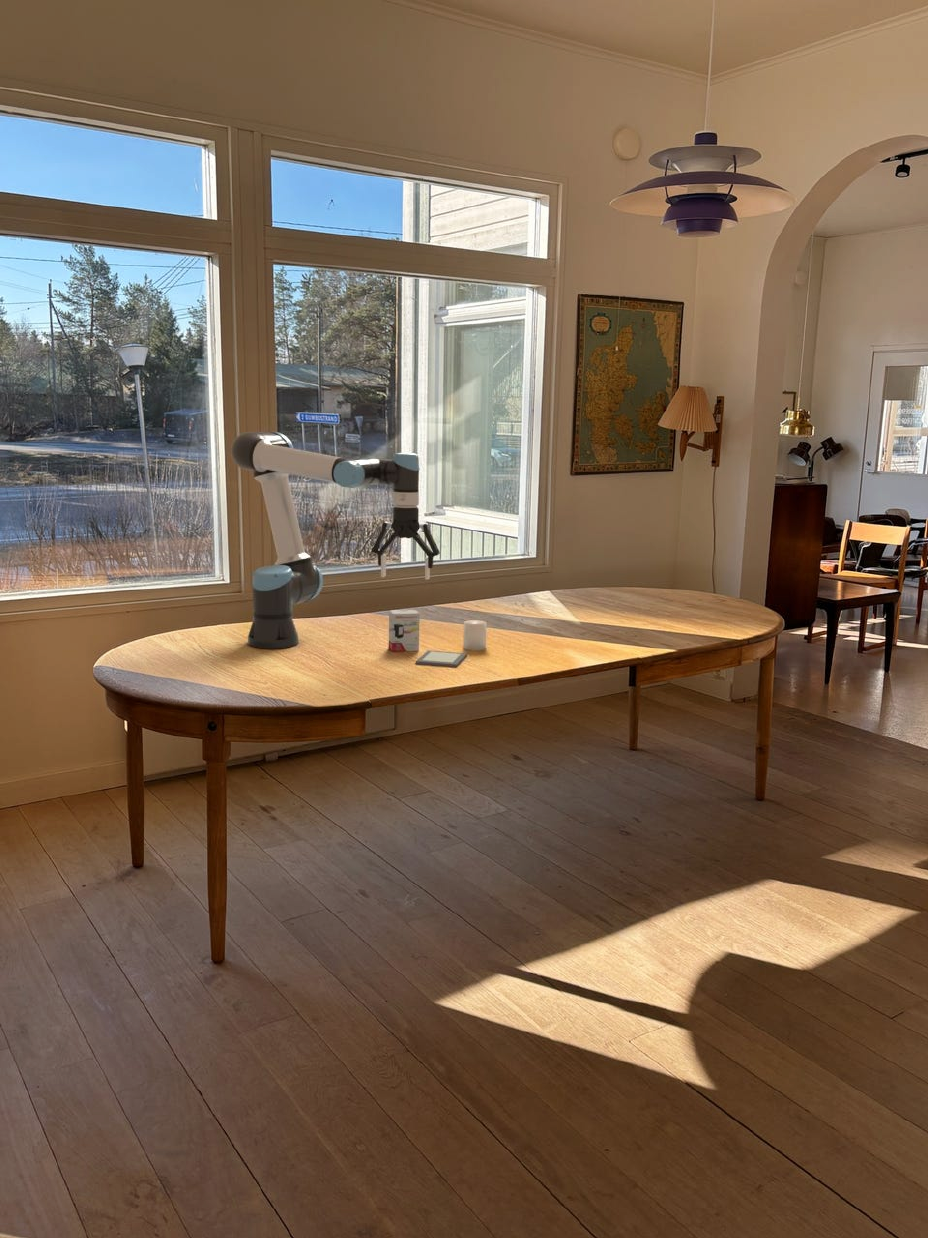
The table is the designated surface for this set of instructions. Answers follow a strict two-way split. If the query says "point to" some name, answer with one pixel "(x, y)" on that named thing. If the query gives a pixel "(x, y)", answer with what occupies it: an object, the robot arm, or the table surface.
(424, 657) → the e-reader
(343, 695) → the table surface
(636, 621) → the table surface
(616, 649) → the table surface
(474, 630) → the white ceramic tumbler
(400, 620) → the ink box
